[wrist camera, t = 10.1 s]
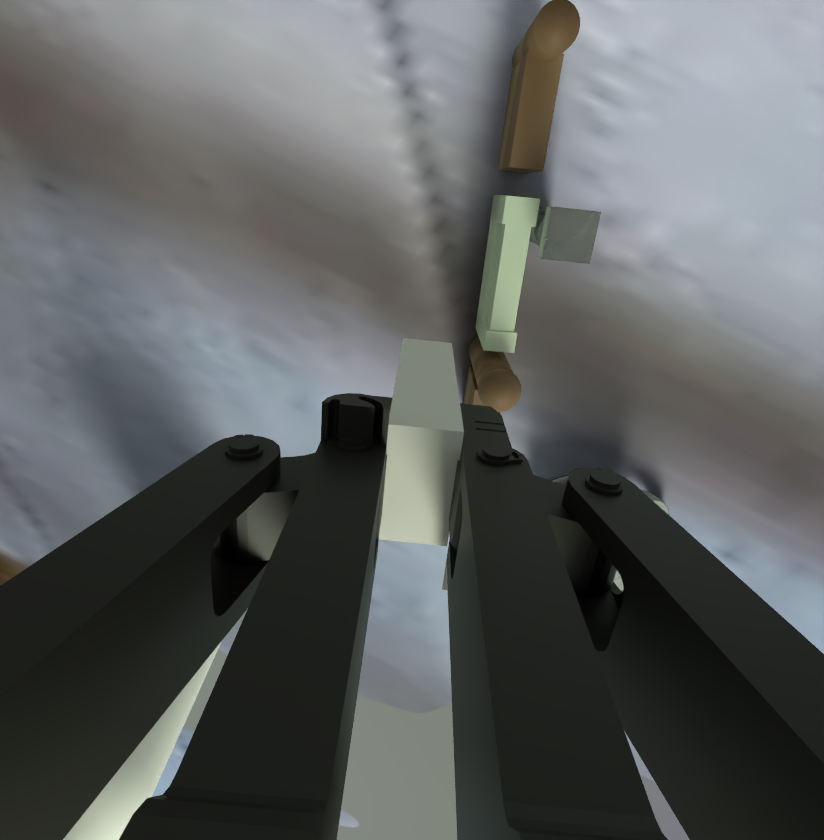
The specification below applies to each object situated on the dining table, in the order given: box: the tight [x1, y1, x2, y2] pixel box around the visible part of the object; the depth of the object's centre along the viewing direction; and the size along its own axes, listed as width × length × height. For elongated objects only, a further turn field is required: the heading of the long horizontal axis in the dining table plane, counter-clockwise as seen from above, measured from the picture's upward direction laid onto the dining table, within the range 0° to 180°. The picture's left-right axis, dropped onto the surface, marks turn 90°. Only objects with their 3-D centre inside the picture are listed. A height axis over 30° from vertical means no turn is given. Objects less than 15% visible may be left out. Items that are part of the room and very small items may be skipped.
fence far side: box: [498, 0, 580, 173], centre depth 28 cm, size 2×7×7 cm, turn 174°
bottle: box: [63, 642, 221, 840], centre depth 31 cm, size 8×8×30 cm
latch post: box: [529, 206, 601, 264], centre depth 30 cm, size 2×2×9 cm
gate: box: [475, 195, 540, 353], centre depth 32 cm, size 8×2×6 cm, turn 175°
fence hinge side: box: [463, 336, 521, 413], centre depth 33 cm, size 2×6×10 cm, turn 175°
